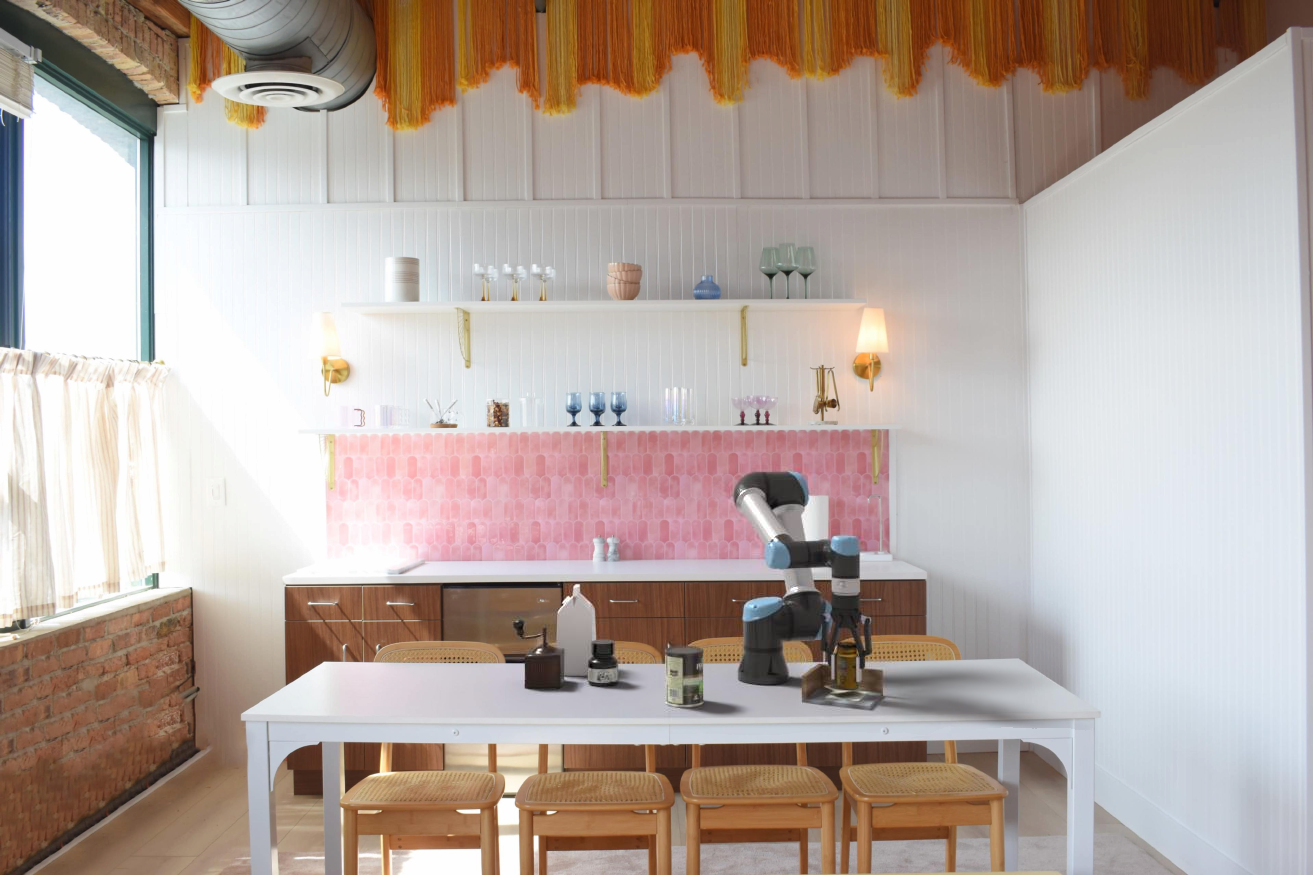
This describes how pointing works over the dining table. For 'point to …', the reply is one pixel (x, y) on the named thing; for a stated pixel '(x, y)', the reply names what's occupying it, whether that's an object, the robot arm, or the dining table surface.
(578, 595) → the milk
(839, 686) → the condiment
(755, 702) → the dining table surface
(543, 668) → the manual coffee grinder
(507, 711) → the dining table surface
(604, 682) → the ink bottle
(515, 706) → the dining table surface
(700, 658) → the coffee can
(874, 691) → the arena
